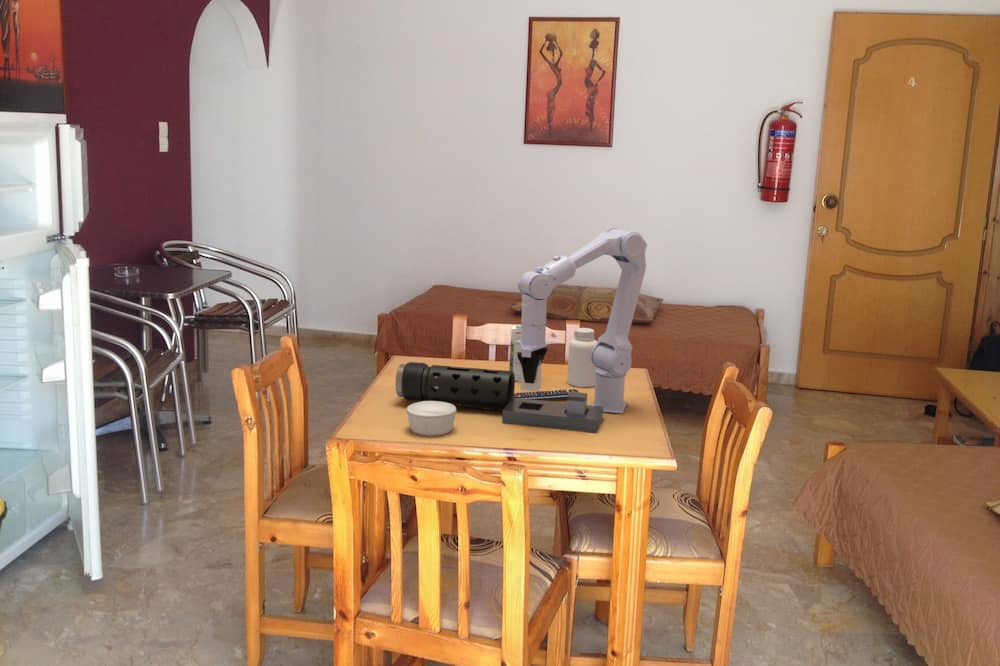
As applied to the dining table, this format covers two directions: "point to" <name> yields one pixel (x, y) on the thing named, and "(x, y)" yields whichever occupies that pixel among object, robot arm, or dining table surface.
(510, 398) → the muzzle brake
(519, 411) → the block
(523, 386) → the plug
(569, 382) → the pill bottle
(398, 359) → the dining table surface
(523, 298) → the robot arm
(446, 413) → the ramekin
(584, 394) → the twin plug
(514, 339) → the syrup box
